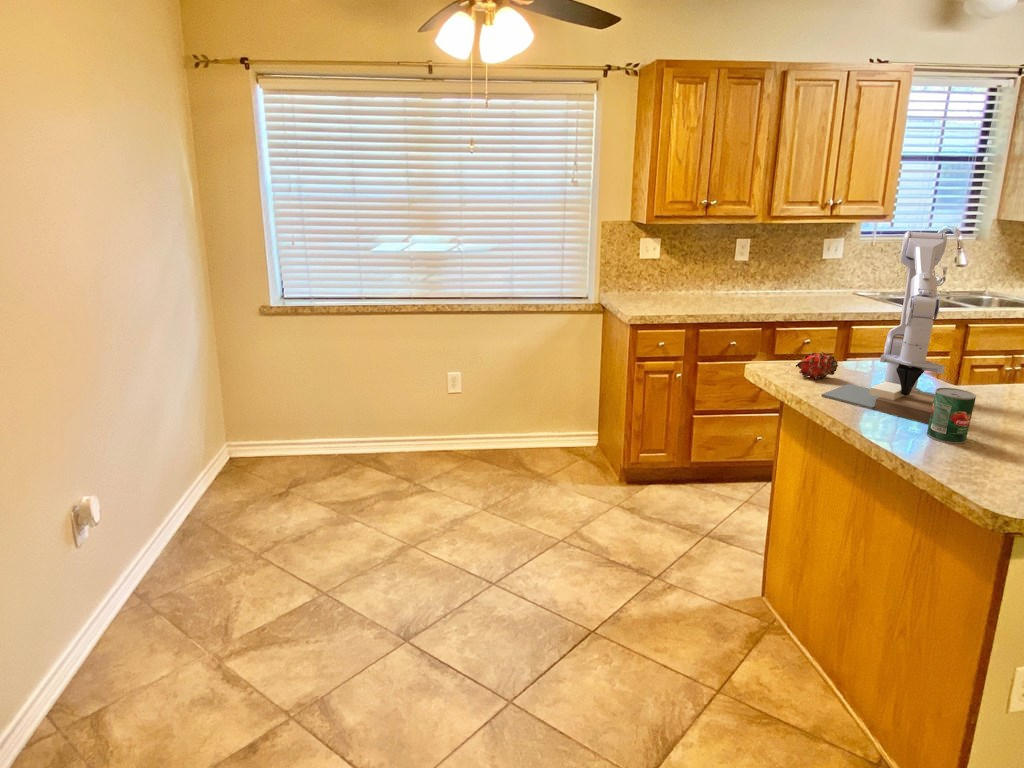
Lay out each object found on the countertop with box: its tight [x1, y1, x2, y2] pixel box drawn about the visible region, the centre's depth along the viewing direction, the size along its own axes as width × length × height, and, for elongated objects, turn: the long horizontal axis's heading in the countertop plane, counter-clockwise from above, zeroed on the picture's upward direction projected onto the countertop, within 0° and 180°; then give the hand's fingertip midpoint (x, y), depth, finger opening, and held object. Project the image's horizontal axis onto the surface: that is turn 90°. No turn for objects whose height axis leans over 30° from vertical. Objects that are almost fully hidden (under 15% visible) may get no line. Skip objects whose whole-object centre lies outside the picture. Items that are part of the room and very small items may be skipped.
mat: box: [821, 383, 879, 410], centre depth 184 cm, size 16×14×1 cm
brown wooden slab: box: [873, 390, 935, 425], centre depth 174 cm, size 16×14×3 cm
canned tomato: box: [926, 387, 977, 445], centre depth 155 cm, size 8×8×11 cm
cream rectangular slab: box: [869, 381, 904, 400], centre depth 177 cm, size 9×6×2 cm, turn 130°
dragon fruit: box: [795, 351, 839, 380], centre depth 201 cm, size 8×8×12 cm
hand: (905, 394), depth 174 cm, fingers closed
